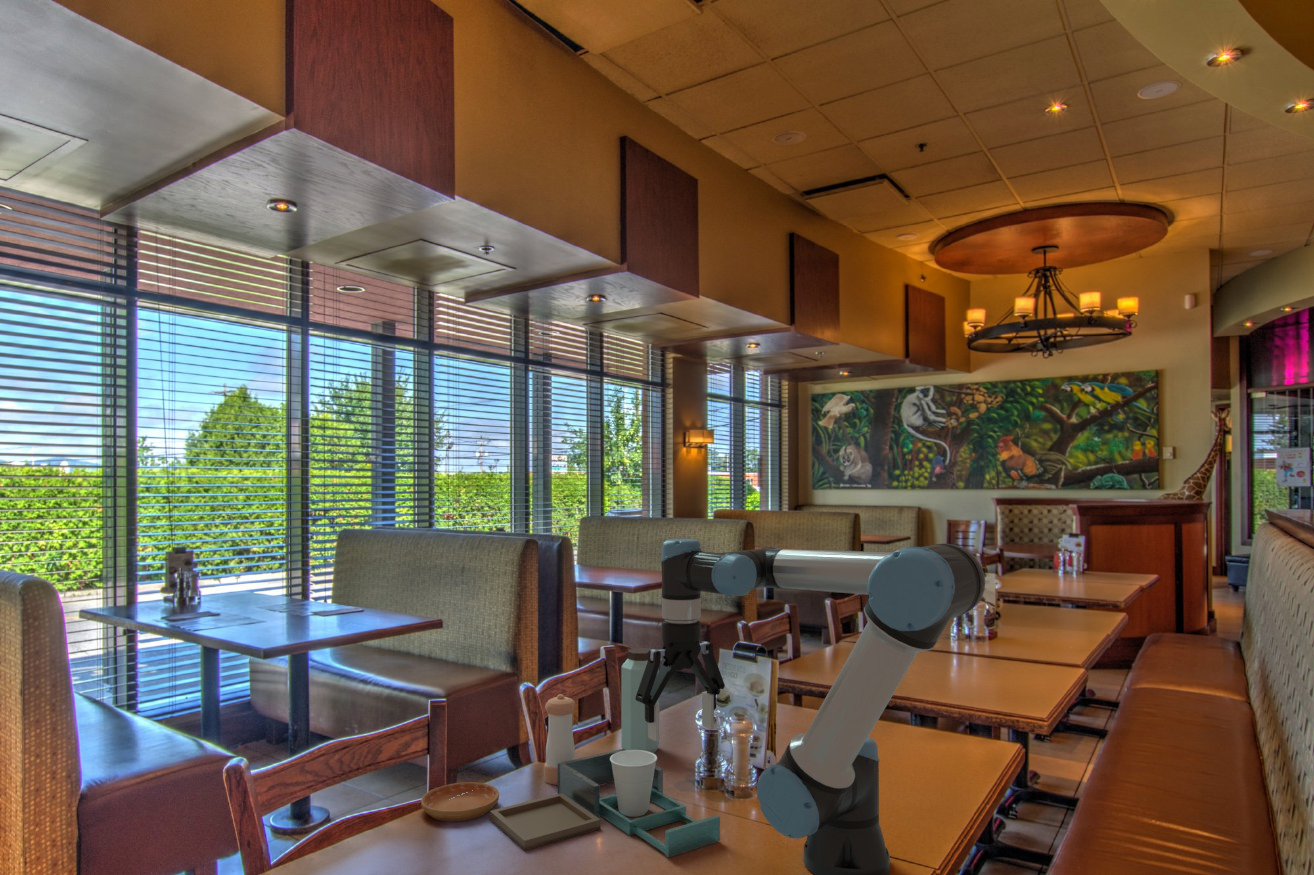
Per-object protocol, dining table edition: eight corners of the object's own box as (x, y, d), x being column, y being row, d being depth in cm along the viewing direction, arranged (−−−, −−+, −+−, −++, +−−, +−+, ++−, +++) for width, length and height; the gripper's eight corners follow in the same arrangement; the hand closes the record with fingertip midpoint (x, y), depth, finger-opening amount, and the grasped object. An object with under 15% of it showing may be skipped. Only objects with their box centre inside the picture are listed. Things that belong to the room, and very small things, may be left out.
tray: (600, 828, 161) (600, 819, 161) (524, 850, 152) (524, 840, 152) (561, 801, 174) (561, 792, 174) (489, 819, 165) (489, 810, 165)
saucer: (418, 801, 175) (418, 786, 176) (492, 790, 181) (492, 777, 181) (424, 831, 161) (424, 815, 161) (505, 819, 166) (505, 804, 166)
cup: (653, 822, 164) (653, 767, 164) (604, 819, 165) (605, 764, 166) (660, 803, 173) (660, 750, 174) (615, 800, 175) (615, 748, 175)
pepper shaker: (579, 782, 185) (580, 696, 186) (548, 786, 183) (549, 700, 184) (571, 771, 192) (571, 689, 193) (540, 775, 189) (541, 692, 190)
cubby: (662, 800, 175) (662, 769, 175) (594, 818, 165) (594, 786, 166) (623, 777, 188) (623, 748, 189) (557, 793, 179) (557, 763, 179)
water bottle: (616, 745, 210) (616, 648, 211) (653, 741, 213) (653, 645, 214) (626, 758, 201) (626, 656, 202) (665, 754, 204) (665, 653, 205)
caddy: (723, 840, 155) (723, 815, 156) (664, 859, 148) (664, 833, 148) (648, 796, 177) (648, 775, 177) (594, 811, 169) (594, 788, 169)
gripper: (718, 611, 167) (718, 717, 166) (617, 623, 153) (616, 739, 152) (742, 616, 161) (742, 726, 160) (638, 629, 147) (638, 750, 146)
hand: (681, 733), depth 156 cm, fingers open, 12 cm apart
